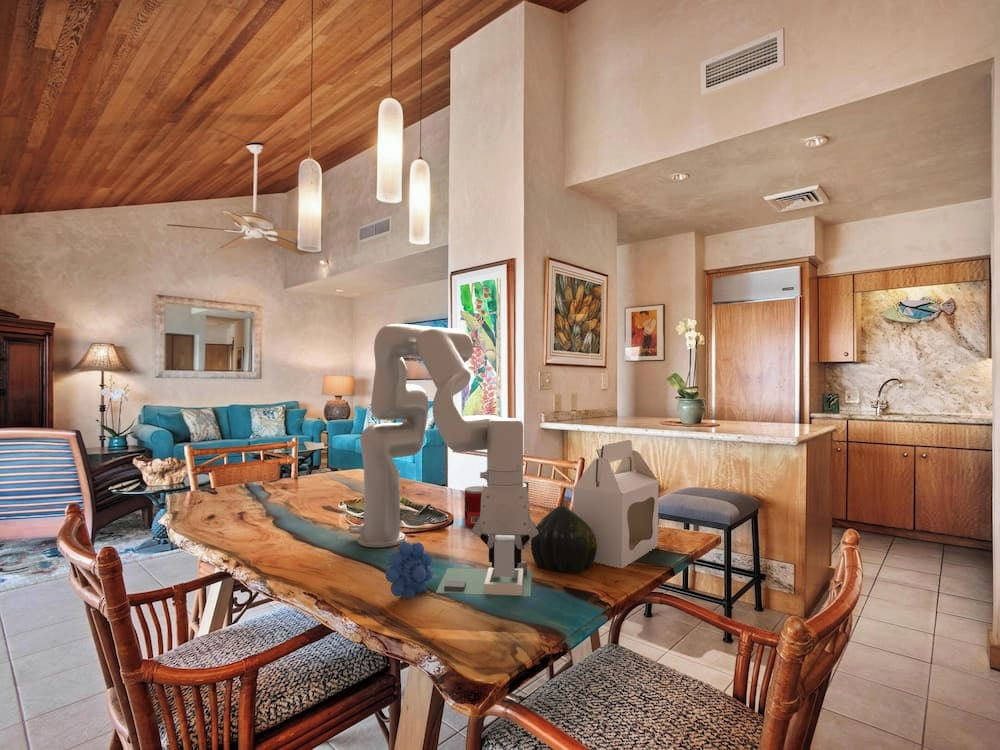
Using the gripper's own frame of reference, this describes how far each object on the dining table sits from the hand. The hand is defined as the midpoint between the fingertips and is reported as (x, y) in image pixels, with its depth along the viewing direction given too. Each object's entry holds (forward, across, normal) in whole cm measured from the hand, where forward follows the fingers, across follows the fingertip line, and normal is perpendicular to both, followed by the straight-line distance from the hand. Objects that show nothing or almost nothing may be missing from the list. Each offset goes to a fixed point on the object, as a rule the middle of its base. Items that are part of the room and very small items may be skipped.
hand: (505, 565), depth 112 cm
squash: (+6, +12, +14) cm, 20 cm away
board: (+5, -4, +2) cm, 7 cm away
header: (+4, 0, 0) cm, 4 cm away
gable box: (+6, +27, +28) cm, 39 cm away
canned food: (+5, -12, +49) cm, 51 cm away
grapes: (+6, -18, -7) cm, 20 cm away
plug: (+1, 0, 0) cm, 1 cm away
